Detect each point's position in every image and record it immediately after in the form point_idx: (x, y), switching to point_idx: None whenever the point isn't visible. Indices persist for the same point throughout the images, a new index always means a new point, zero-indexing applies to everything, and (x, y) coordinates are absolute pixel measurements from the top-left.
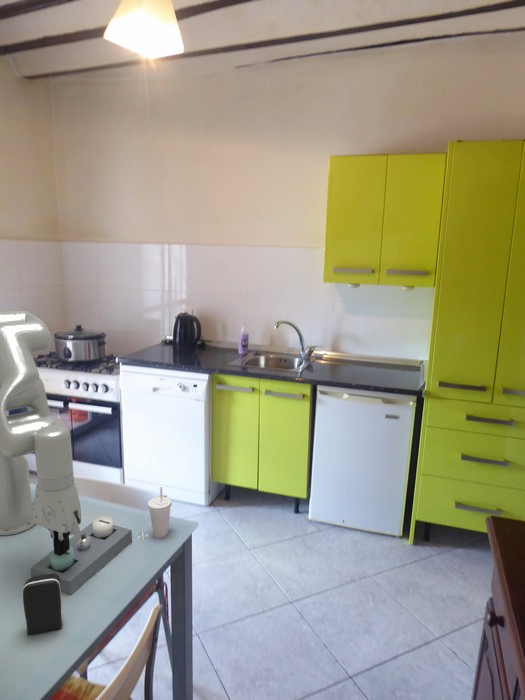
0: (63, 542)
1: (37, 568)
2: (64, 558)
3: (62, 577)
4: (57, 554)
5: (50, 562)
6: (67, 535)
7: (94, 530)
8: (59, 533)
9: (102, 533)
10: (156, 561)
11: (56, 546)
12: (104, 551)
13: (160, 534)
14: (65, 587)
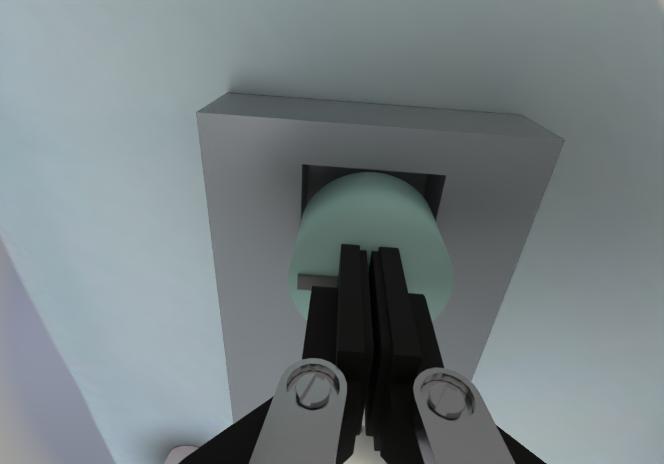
0: (303, 350)
1: (505, 149)
2: (301, 237)
3: (274, 130)
4: (378, 254)
5: (453, 222)
6: (200, 447)
7: (355, 453)
8: (310, 462)
9: None
10: (85, 364)
11: (377, 300)
12: (230, 359)
13: (170, 461)
14: (253, 102)
